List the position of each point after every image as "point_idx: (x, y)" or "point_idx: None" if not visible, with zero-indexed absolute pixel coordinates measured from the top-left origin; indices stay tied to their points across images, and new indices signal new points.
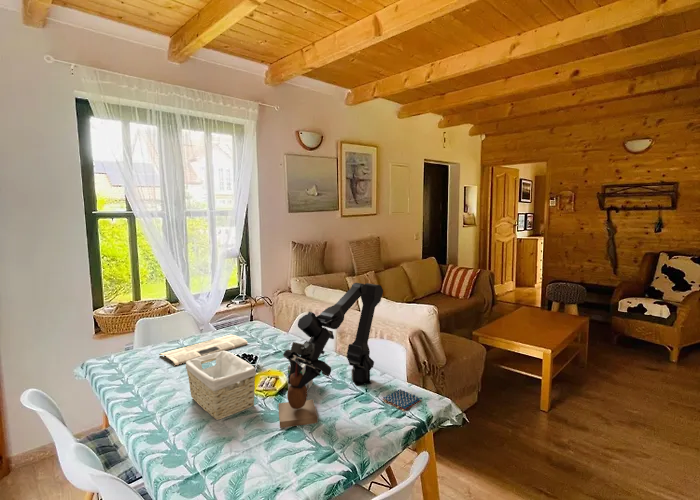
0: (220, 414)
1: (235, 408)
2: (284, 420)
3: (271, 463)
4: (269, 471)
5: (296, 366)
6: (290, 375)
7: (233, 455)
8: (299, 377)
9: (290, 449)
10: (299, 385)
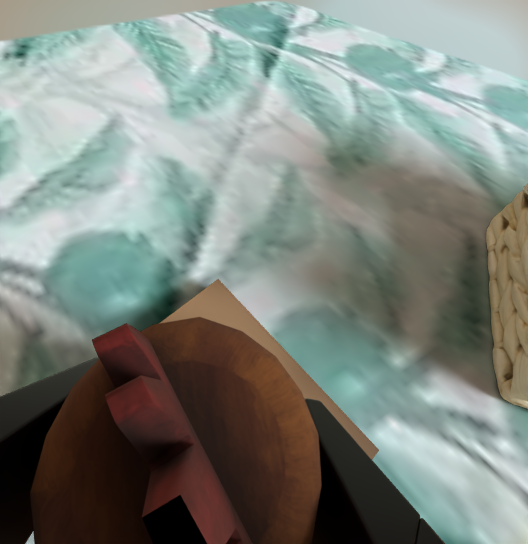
0: (505, 229)
1: (508, 287)
2: (202, 300)
3: (104, 117)
4: (88, 91)
5: (157, 493)
6: (351, 468)
7: (254, 110)
8: (69, 404)
9: (74, 191)
10: (81, 364)
